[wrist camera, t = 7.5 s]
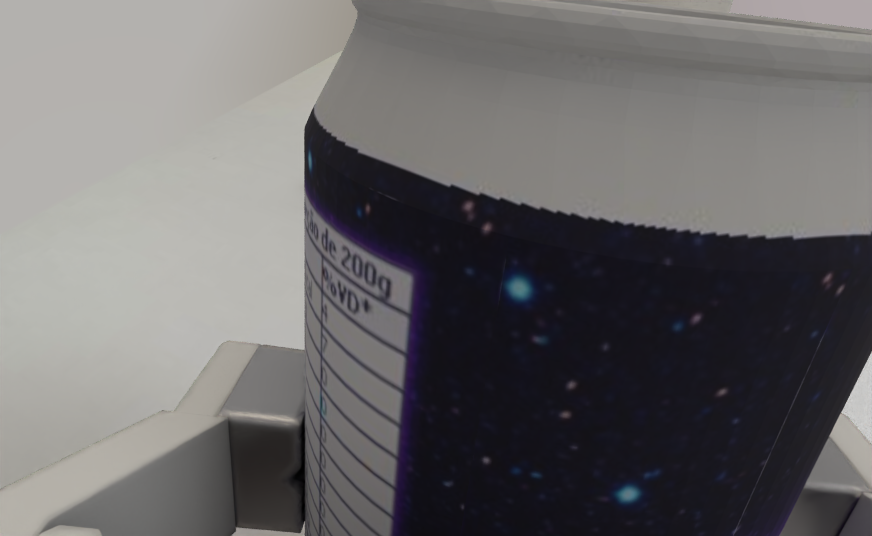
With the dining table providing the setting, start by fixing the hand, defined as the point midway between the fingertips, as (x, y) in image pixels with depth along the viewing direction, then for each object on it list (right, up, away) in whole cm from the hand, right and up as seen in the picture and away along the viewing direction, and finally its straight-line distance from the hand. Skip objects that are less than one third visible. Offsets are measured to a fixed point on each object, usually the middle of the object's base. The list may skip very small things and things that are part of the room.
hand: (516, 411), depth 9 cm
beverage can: (-1, -6, +2) cm, 7 cm away
